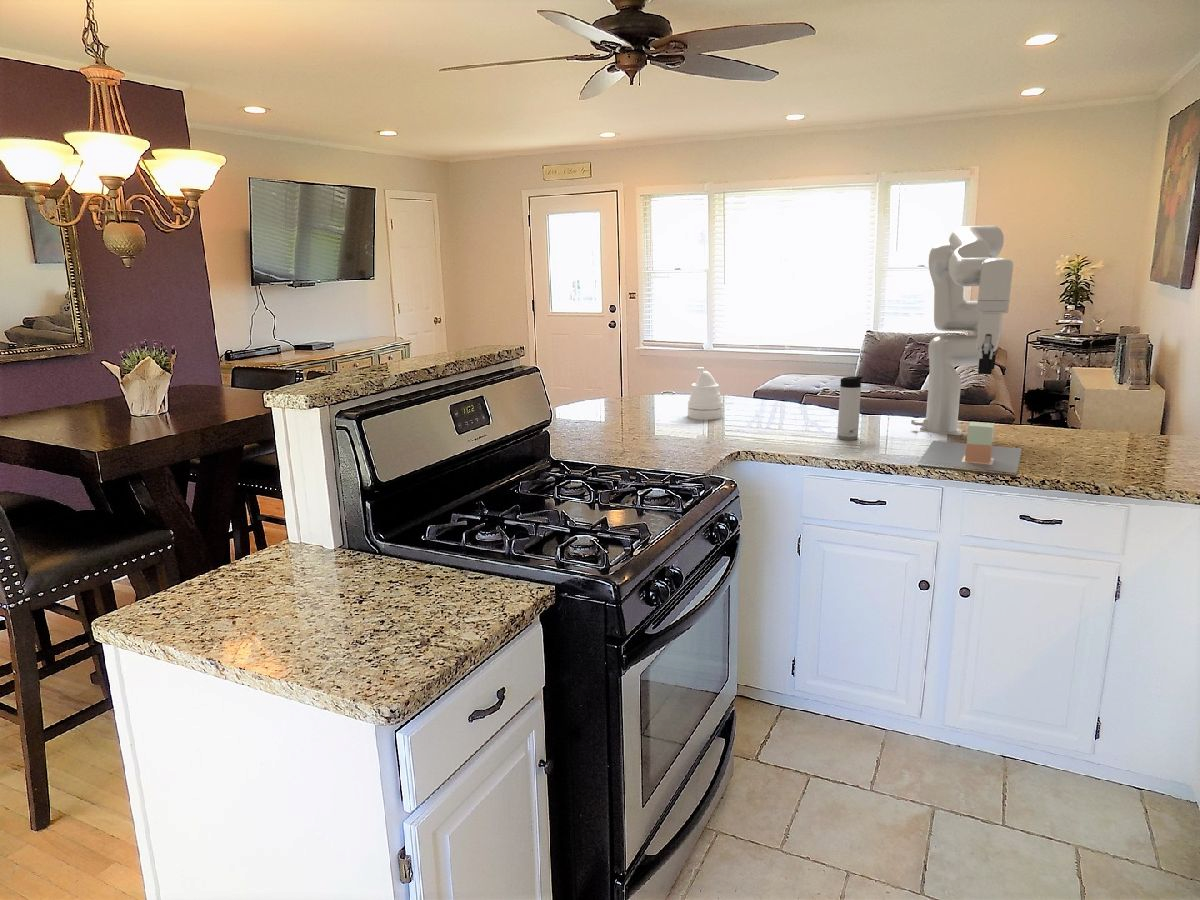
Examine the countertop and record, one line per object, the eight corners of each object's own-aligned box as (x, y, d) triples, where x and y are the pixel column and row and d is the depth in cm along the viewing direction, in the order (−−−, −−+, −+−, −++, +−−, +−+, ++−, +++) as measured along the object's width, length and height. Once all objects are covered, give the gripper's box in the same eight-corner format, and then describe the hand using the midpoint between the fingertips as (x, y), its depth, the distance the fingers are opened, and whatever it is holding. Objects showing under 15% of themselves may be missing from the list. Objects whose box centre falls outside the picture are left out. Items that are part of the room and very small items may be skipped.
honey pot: (686, 419, 285) (687, 370, 281) (688, 412, 298) (689, 365, 293) (722, 419, 283) (723, 370, 279) (723, 413, 296) (724, 365, 291)
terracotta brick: (964, 461, 216) (966, 443, 214) (967, 456, 221) (968, 439, 220) (989, 463, 213) (991, 445, 212) (990, 458, 218) (992, 441, 217)
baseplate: (917, 466, 215) (918, 462, 215) (932, 444, 241) (933, 440, 240) (1016, 477, 204) (1016, 472, 203) (1021, 452, 229) (1021, 448, 229)
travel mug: (855, 441, 247) (859, 377, 242) (834, 439, 250) (838, 376, 246) (861, 437, 252) (864, 375, 247) (840, 435, 255) (843, 374, 251)
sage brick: (966, 443, 214) (968, 425, 213) (968, 439, 220) (970, 421, 218) (991, 445, 212) (992, 427, 210) (992, 441, 217) (994, 423, 215)
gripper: (980, 304, 216) (973, 366, 220) (974, 309, 202) (967, 375, 206) (1010, 304, 213) (1003, 367, 217) (1006, 309, 198) (999, 377, 202)
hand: (986, 371), depth 211 cm, fingers open, 9 cm apart
